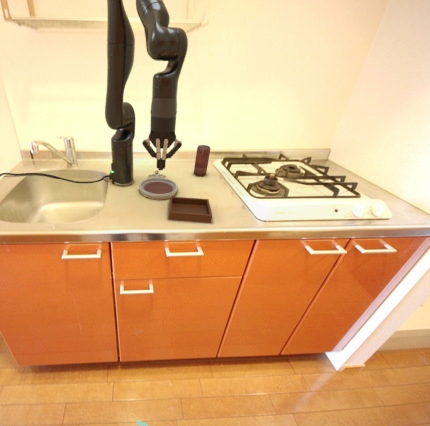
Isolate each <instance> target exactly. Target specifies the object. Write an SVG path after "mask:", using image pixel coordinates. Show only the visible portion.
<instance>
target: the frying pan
mask: <svg viewBox="0 0 430 426" xmlns="http://www.w3.org/2000/svg"><path fill="white" fill-rule="evenodd" d="M159 172H160V170H159V169H156V170H155V173H153V174H148V178H146V179H142V180H141V181H140V182H139V184H138V190H139V191H140V193H141V195H142V196H144V197H146V198H147V199H151V200H159V201H160V200H167V199H170V197H175V195H176V194H177V192H178V191H179V186H178V184H177V182H175V181H174V180H172V179H170V178H167V176H166V174H159Z"/></svg>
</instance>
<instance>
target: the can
mask: <svg viewBox="0 0 430 426" xmlns="http://www.w3.org/2000/svg"><path fill="white" fill-rule="evenodd" d="M210 154H211V147H210V146H209V145H205V144H200V145H198V146H197V148H196V153H195V160H194V167H193V175H194V176H196V177H198V178H199V177H201V178H202V177H205V176H206V175H207V171H208V165H209V159H210Z"/></svg>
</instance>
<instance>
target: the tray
mask: <svg viewBox="0 0 430 426" xmlns="http://www.w3.org/2000/svg"><path fill="white" fill-rule="evenodd" d="M168 206H169V208H168V220H169V221H179V222H180V221H182V222H191V223H192V222H193V223H206V224H211V223H212V220H213V212H212V209H211V204H210V200H209V198H197V197H184V196H173V197H170V198H169V205H168Z"/></svg>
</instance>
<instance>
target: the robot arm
mask: <svg viewBox="0 0 430 426" xmlns="http://www.w3.org/2000/svg"><path fill="white" fill-rule="evenodd" d="M106 6H107V7H106V8H107V17H106V18H107V20H106V21H107V23H106V24H107V27H106V28H107V30H106V56H107V57H106V62H107V66H106V67H107V68H106V72H107V73H106V95H105V105H104V119H105V122H106V123H105V124H107V126H108V128H110V130H113V131H115V132H114V134H113V135H112V136H111V138H110V149H111V150H110V151H111V162H110V172H109V174H107V175H104V176H103V177H101V178H100V179H97V180H91V181H79V180H78V181H77V180H73V179H68V178H64V177H61V176H56V175H54V174H49V173H43V172H42V173H41V172H27V173H26V172H23V173H12V172H2V173H0V177H2V176H4V175H7V176H31V175H35V176H37V175H38V176H46V177H51V178H55V179H59V180H61V181H64V182H65V181H66V182H69V183H74V184H93V183H98V182H102V181H103V180H104V179H106V178H108V181H111V183H112V185H115V186H120V187H127V186H130V185H132V184H134V140H135V136H136V112H135V108H134V106H133V105H132V104H131V103H129V102H128V101H124V95H125V89H126V85H127V83H128V80H129V78H130V75H131V73H132V70H133V67H134V63H135V53H136V51H135V50H136V37H135V34H134V30H133V27H132V25H131V22H130V20H129V18H128V14H127V11H126V8H125V5H124V1H123V0H106ZM135 9H136V12H137V15H138V18H139V20H140V22H141V25H142V27H143V31H144V37H145V48H146V53H147V54H148V56H149V58H150V59H151V60H153V61H155V62H167V64H166V67H165V69H164V70H161V71H158V72H156V73H154V74H153V77H152V88H151V103H150V131H149V135H148V137H147V138H146V139H143V141H142V143H141V144H142V146H143V147H144V149H145V150H146V151H147V153H148V154H149V156H150V157H151V158H154V159H156V169H158V171H163V170H165V169H166V162H167V159H172V157H173V156H174V155H175V154H176V153H177V152H178V151H179V150H180V149H181V148H182V146H183V142H182V141H181V140H179V139H178V138H177V135H176V126H177V115H178V87H179V79H180V75H181V73H182V69H183V66H184V63H185V60H186V56H187V53H188V49H189V40H188V34H187V32H186V31H185V30H184V29H183V28H181V27H175V26H174V27H173V26H170V21H171V20H170V14H169V11H168V8H167V6H166V4H165V3H164V0H135ZM151 144H152V145H153V147H154V148H155V150H154V148H153V147H152V146H151ZM172 145H173V147H172V148H171V149H170V147H171V146H172ZM161 149H162V151H161ZM168 149H170V150H169V151H168Z"/></svg>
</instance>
